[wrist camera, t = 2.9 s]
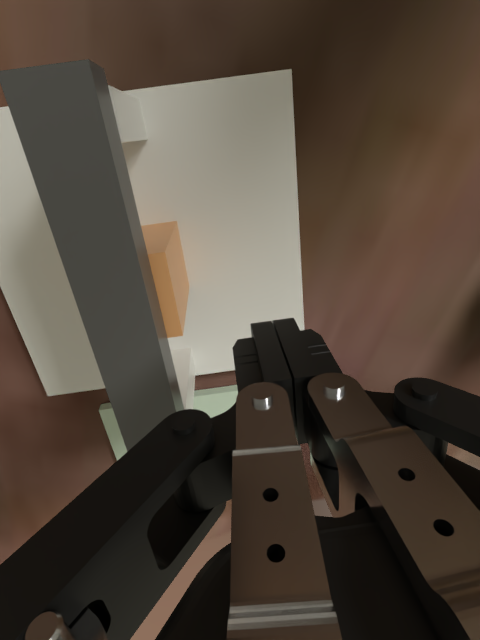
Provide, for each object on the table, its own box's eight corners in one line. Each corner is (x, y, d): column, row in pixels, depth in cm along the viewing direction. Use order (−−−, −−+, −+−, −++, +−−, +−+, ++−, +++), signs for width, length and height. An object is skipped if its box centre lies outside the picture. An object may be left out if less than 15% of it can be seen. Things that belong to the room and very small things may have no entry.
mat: (267, 380, 32) (268, 386, 31) (276, 465, 36) (277, 472, 35) (101, 403, 31) (98, 410, 31) (130, 486, 36) (129, 493, 35)
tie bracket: (286, 72, 22) (326, 41, 14) (301, 350, 31) (331, 421, 23) (-56, 118, 22) (-198, 109, 14) (55, 384, 30) (3, 468, 23)
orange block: (176, 220, 24) (165, 252, 18) (196, 325, 27) (193, 382, 21) (105, 230, 24) (68, 265, 18) (134, 334, 27) (112, 394, 21)
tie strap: (103, 68, 14) (88, 59, 12) (192, 445, 23) (191, 472, 21) (23, 79, 14) (-4, 71, 12) (142, 452, 23) (137, 479, 21)
